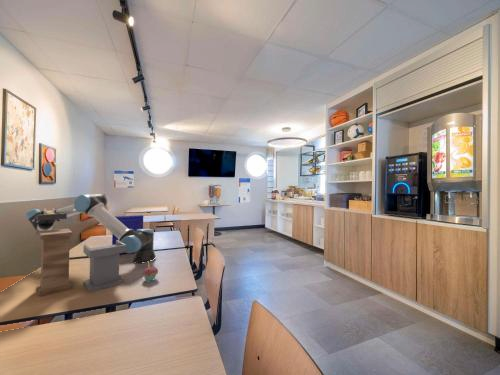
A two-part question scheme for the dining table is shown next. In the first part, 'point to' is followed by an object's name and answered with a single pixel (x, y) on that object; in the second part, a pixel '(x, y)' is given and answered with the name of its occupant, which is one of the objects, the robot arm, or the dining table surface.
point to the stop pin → (51, 216)
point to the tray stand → (104, 266)
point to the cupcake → (150, 273)
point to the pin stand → (54, 261)
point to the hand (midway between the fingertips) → (49, 209)
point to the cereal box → (129, 224)
